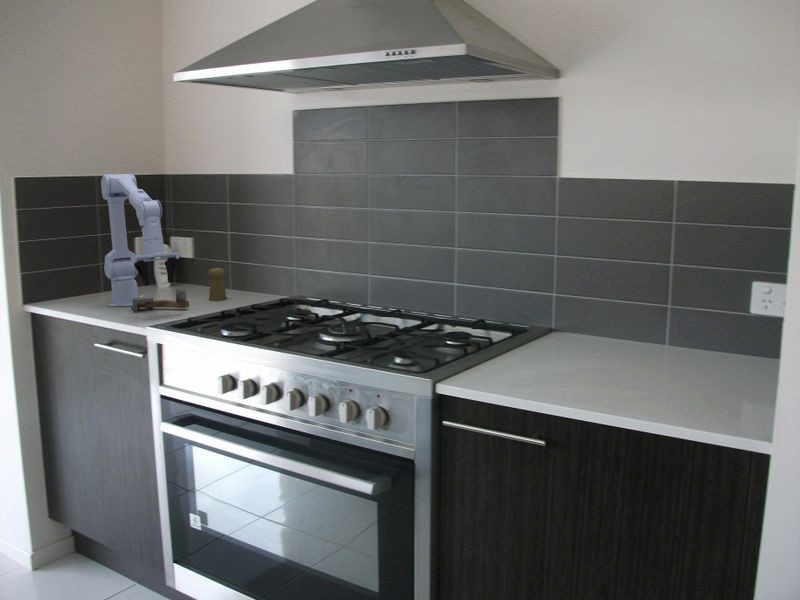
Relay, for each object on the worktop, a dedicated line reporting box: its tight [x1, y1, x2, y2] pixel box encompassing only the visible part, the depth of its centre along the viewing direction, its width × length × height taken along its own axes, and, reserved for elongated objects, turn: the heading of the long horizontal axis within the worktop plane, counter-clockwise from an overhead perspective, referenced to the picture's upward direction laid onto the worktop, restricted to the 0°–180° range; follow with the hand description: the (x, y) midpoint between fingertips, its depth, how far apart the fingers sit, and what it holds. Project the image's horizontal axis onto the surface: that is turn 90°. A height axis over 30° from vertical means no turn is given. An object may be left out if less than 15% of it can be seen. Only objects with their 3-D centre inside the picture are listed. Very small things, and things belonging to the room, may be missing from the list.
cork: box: [208, 267, 228, 302], centre depth 277 cm, size 6×6×11 cm
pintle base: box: [130, 294, 155, 312], centre depth 262 cm, size 7×7×4 cm
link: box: [137, 287, 190, 309], centre depth 261 cm, size 18×4×6 cm, turn 79°
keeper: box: [132, 296, 154, 314], centre depth 258 cm, size 3×6×4 cm, turn 109°
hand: (158, 284), depth 245 cm, fingers open, 7 cm apart
